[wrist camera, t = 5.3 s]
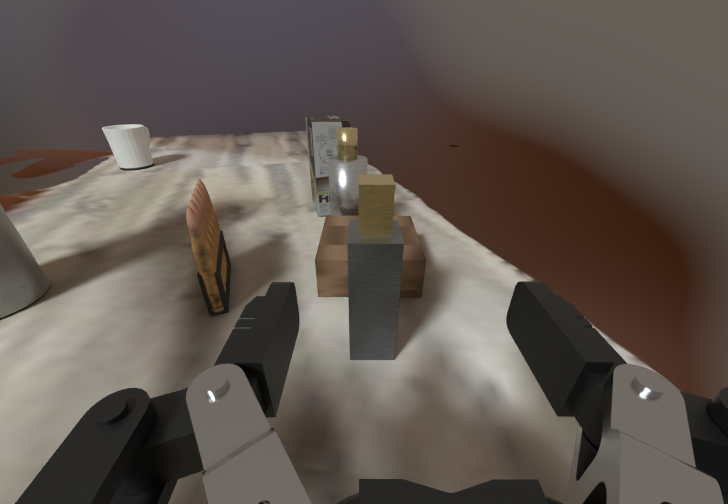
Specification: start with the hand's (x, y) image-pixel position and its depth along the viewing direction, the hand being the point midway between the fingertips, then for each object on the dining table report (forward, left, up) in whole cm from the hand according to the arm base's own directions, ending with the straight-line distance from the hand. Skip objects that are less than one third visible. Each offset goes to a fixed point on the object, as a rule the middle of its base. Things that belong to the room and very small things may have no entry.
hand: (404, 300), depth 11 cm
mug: (-63, +77, -15) cm, 101 cm away
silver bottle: (-4, +35, -15) cm, 38 cm away
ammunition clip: (-19, +21, -15) cm, 32 cm away
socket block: (-1, +25, -15) cm, 29 cm away
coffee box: (-8, +47, -15) cm, 50 cm away
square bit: (-1, +12, -15) cm, 19 cm away
